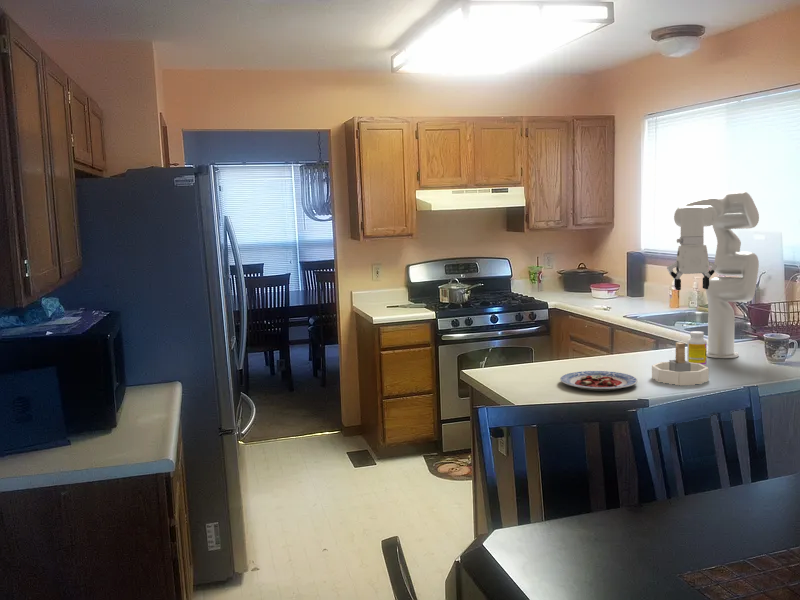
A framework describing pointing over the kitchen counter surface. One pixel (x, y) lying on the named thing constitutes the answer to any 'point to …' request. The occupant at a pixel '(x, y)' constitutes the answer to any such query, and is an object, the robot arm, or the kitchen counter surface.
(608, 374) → the ceramic plate
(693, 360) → the supplement bottle
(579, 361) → the kitchen counter surface
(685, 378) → the shallow round tray
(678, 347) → the wooden block
